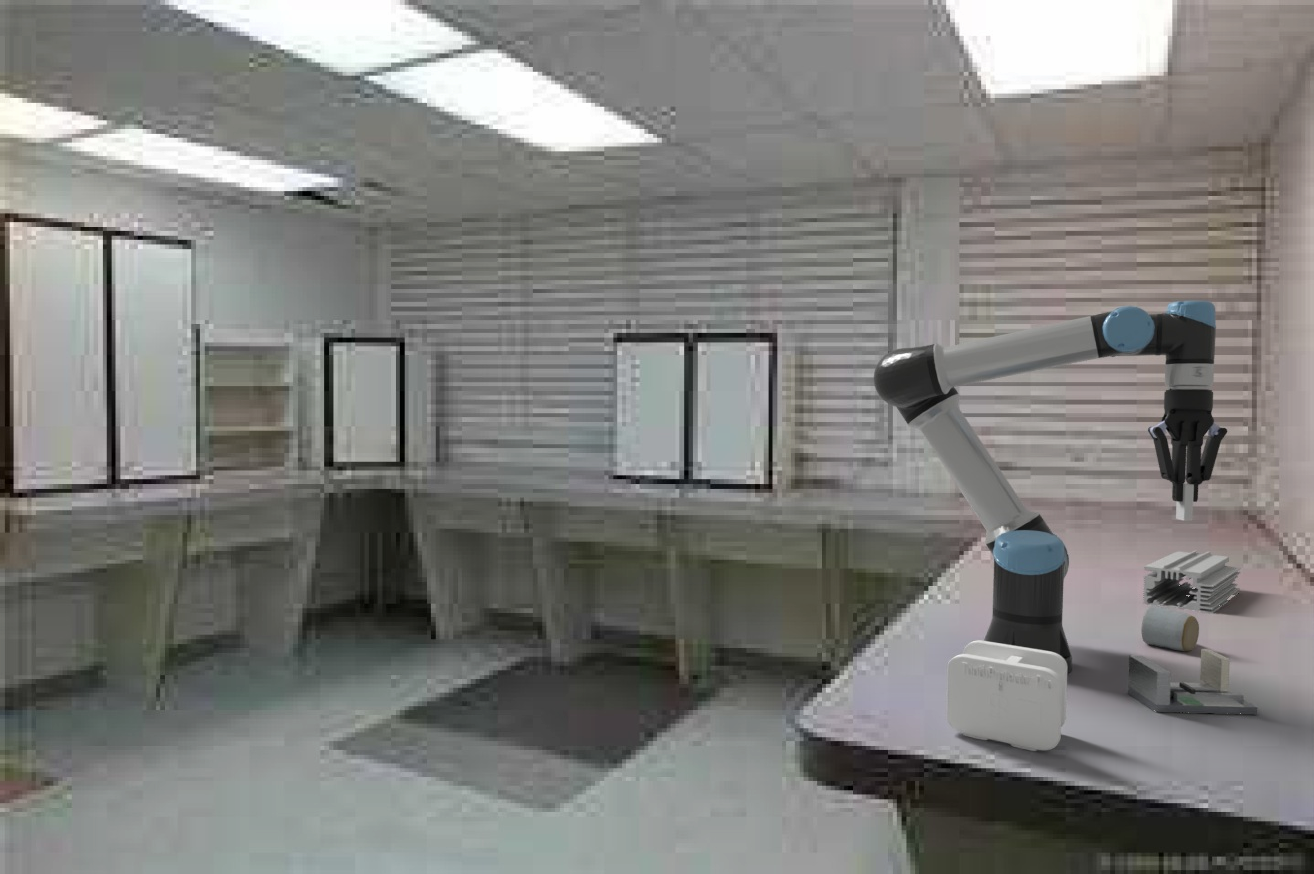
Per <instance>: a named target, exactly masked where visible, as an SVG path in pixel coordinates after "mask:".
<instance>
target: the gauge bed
mask: <svg viewBox="0 0 1314 874" xmlns="http://www.w3.org/2000/svg"><path fill="white" fill-rule="evenodd" d="M1171 675H1172V672H1170V671H1169V670H1167V669H1165V668H1164V667H1162V666H1160V665H1158V664H1157V663H1155V662H1153V661H1152V660H1149V659H1148V658H1146V657H1144V656H1143V655H1128V678H1127V679H1128V680H1127V681H1128V683H1127V694H1129V696H1131V697H1133V698H1134V699H1136V700H1137V701H1139V702H1140V703H1142V704H1143V705H1145V706H1146V707H1147V706H1148V708H1149V709H1151V710H1152V711H1153V710H1155V711H1156V712H1155V711H1154V712H1155V713H1160V712H1180V713H1179V714H1197V713H1215V714H1214V715H1235V714H1240V713H1241V714H1257V715H1258V710H1259V707H1258V706H1256V705H1255V704H1252V703H1250V702H1249V701H1246V700H1245V695H1243V694H1242V693H1240V692H1230V690H1229V691H1219V690H1218V693H1208V692H1195V694H1191V693H1189V692H1174V696H1170V685H1171V682H1172V681H1171V680H1172V676H1171ZM1157 711H1158V712H1157ZM1182 712H1183V713H1182ZM1185 712H1186V713H1185ZM1188 712H1189V713H1188ZM1227 713H1228V714H1227Z"/></svg>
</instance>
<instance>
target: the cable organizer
mask: <svg viewBox="0 0 1314 874" xmlns="http://www.w3.org/2000/svg"><path fill="white" fill-rule="evenodd" d="M946 668H947V673H946V674H947V675H946V710H945V711H946V713H945V714H946V715H945V717H946V718H945V720H946V722H947V724H948V725H949V726H950V728H951V729H953V730H955V731H956V732H959V733H961V734H962V735H963V736H965V737H968V738H973V739H976V740H982V741H988V740H992V741H997V742H1002V743H1006V744H1010V746H1011V747H1013V748H1018V749H1022V750H1027V751H1030V752H1037V751H1050V750H1053V749H1054V748H1056V747H1057V746H1058V744H1059V743H1060V741H1061V736H1062V733H1061V732H1062V727H1063V726H1064V724H1065V723H1066V720H1067V697H1068V694H1067V692H1068V673H1067V663H1066V661H1065V659H1064V658H1063V657H1062V656H1060V655H1059V654H1057V653H1054V652H1051V651H1045V650H1038V649H1032V648H1026V647H1019V646H1013V645H1007V644H1001V643H994V642H988V641H984V640H981V639H980V640H974V641H971V642H969V643H967V644H966V646H965V647H964V648H963V653H960V654H957V655H955V656H954V657H952V658H951V659H950V660H949V661H948V662H947V667H946Z"/></svg>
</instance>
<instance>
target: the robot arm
mask: <svg viewBox="0 0 1314 874" xmlns="http://www.w3.org/2000/svg"><path fill="white" fill-rule="evenodd" d="M1216 320H1217V319H1216V307H1215V305H1214V304H1213V303H1212V301H1208V300H1183V301H1181V300H1180V301H1173V302H1171V303H1169V304H1168V305H1167V307H1166V311H1165V312H1163V313H1155V314H1152V313H1151V314H1149V312H1147V311H1145V310H1144V309H1142V308H1141V307H1137V306H1132V305H1127V306H1121V307H1118V308H1115V309H1113V310H1112V311H1107V312H1103V313H1099V314H1098V313H1097V314H1095V315H1091V316H1090V315H1089V316H1084V317H1079V318H1075V319H1071V320H1065V321H1061V322H1056V323H1051V324H1047V325H1042V326H1037V327H1032V328H1028V329H1023V330H1019V331H1014V332H1010V333H1005V334H1000V335H995V336H990V337H985V338H981V339H978V340H973V341H968V342H963V343H959V344H954V345H949V346H945V347H944V346H942V345H940V344H938V343H934V344H933V343H931V344H927V345H923V346H915V347H904V348H897V349H893V350H891V351H890V352H888V353H886V354H885V355H884V356H883V357H881V358H880V360H879V361H878V362H877V365H876V366H875V369H874V374H873V384H874V388H875V391H876V392H877V394H878V396H879V397H880V398H881V399H882V401H884V402H885V403H887V404H889V405H891V406H892V407H895V408H897V410H898V412H899V413H900V415H901V416H902V418H903V419H904V421H905V423H906V424H907V426H908V427H912V428H915V429H918V430H920V431H921V433H922V434H923V436H924V437H925V440H927V442H928V444H929V445H930V446H931V448H932V450H933V451H934V453H935V454H936V456H937V457H938V459H939V461H940V462H941V463H942V465H943V466H944V468H945V469H946V471H947V473H948V474H949V475H950V477H951V479H952V480H953V482H954V483H955V485H956V486H957V488H958V489H959V491H960V492H961V494H962V495H963V497H964V498H965V500H966V501H967V504H968V505H969V506H970V507H971V509H972V511H973V513H974V514H975V515H976V516H977V518H978V520H979V522H980V523H981V524H982V526H983V527H984V529H985V531H986V537H985V540H984V544H985V545H986V548H988V550H989V551H990V553H991V554H992V556H993V587H992V613H991V614H992V618H991V620H990V621H991V622H990V624H989V625H988V626H989V627H988V628H987V631H986V634H985V637H984V640H983V641H988V642H994V643H1001V644H1007V645H1013V646H1019V647H1026V648H1032V649H1038V650H1045V651H1051V652H1054V653H1057V654H1059V655H1060V656H1062V657H1063V658H1064V659H1065V661H1066V663H1067V674H1069V673H1070V672H1072V670H1073V657H1072V652H1071V650H1070V645H1069V643H1068V641H1067V640H1068V639H1067V637H1066V633H1065V629H1064V627H1063V609H1064V581H1065V578H1066V576H1067V574H1068V571H1069V566H1070V557H1069V554H1068V549H1067V547H1066V545H1065V544H1064V542H1063V540H1062V539H1061V538H1060V537H1059V536H1058V535H1057V534H1055V533H1053V531H1052V530H1051V528H1050V527H1049V526H1048V524H1047V522H1046V520H1045V519H1044V518H1043V517H1042V515H1041V514H1040V513H1039V512H1038V511H1034V510H1030V509H1028V508H1026V506H1025V504H1024V502H1023V501H1022V500H1021V499H1020V497H1019V495H1018V494H1017V493H1016V491H1015V490H1014V487H1012V485H1011V484H1010V482H1009V480H1008V479H1007V478H1006V475H1004V473H1003V472H1002V470H1001V469H1000V467H999V466H998V465H997V462H996V461H995V460H994V458H993V456H991V454H990V452H989V451H988V449H987V448H986V446H985V445H984V444H983V442H982V440H981V439H980V437H979V436H978V434H977V433H976V432H975V430H974V429H973V426H971V424H970V422H969V421H968V420H967V418H966V417H965V415H964V414H963V412H962V411H961V409H960V408H959V400H960V395H961V394H960V393H959V392H958V391H957V389H956V388H955V387H961V386H965V385H970V384H976V383H981V382H984V381H985V382H986V381H991V380H996V379H1000V378H1007V377H1010V376H1017V375H1021V374H1025V373H1031V372H1035V371H1036V372H1037V371H1040V370H1041V371H1042V370H1045V369H1046V370H1047V369H1050V368H1055V367H1056V368H1057V367H1061V366H1066V365H1071V364H1077V363H1081V362H1087V361H1091V360H1096V359H1102V358H1104V359H1105V358H1108V357H1109V358H1110V357H1111V358H1114V357H1136V356H1137V357H1140V356H1165V367H1164V369H1165V370H1164V371H1165V372H1164V387H1168V388H1167V389H1165V391H1164V396H1163V397H1164V398H1163V409H1164V414H1163V416H1162V417H1161V421H1160V422H1159V423H1157V424H1156V425H1153V426H1150V427H1148V429H1147V432H1148V433H1149V435H1150V437H1151V438H1152V440H1153V444H1154V448H1155V455H1156V457H1157V464H1158V467H1159V472H1160V477H1161V479H1163V480H1167V481H1169V482H1170V483H1171V484H1172V487H1171V493H1172V495H1171V499H1172V501H1174V502H1176V505H1175V507H1176V508H1175V509H1176V510H1175V520H1180V521H1184V522H1191V521H1192V522H1193V519H1194V518H1193V516H1194V503H1197V502H1198V500H1199V486H1200V485H1202V483H1203V482H1205V481H1209V480H1211V478H1212V474H1213V471H1214V467H1215V463H1216V460H1217V457H1218V454H1219V449H1220V446H1221V443H1222V441H1223V440H1224V437H1226V435H1227V433H1228V428H1226V427H1221V426H1219V425H1218V424H1216V423H1215V418H1214V417H1213V414H1212V411H1213V407H1214V391H1213V390H1212V389H1210V387H1211V388H1212V387H1213V386H1214V378H1215V377H1214V376H1215V375H1214V373H1215V355H1216V354H1215V352H1216V351H1215V350H1216V333H1217V324H1216ZM1167 432H1168V434H1169V435H1170V439H1171V440H1170V444H1171V446H1172V451H1170V450H1171V449H1170V448H1169V447H1170V446H1169V441H1168V439H1167V436H1166V435H1167ZM1206 434H1207V435H1208V436H1207V438H1206V441H1205V443H1204V437H1205V435H1206ZM1203 444H1204V446H1203ZM1202 446H1203V451H1202Z"/></svg>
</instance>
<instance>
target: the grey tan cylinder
mask: <svg viewBox="0 0 1314 874" xmlns="http://www.w3.org/2000/svg"><path fill="white" fill-rule="evenodd" d="M1143 614H1144V615H1143V617H1142V621H1141V629H1140V630H1141V631H1140V633H1141V639H1142V641H1143V642H1144V643H1145V644H1147V645H1149V644H1150V645H1151V646H1154V645H1155V646H1156V647H1159V648H1164V647H1165V649H1169V650H1173V649H1174V651H1179V652H1190V651H1192V650H1194V648H1195V646H1196V645H1197V642H1198V640H1199V636H1200V624H1199V621H1198V619H1197V618H1196V617H1195V616H1193V615H1190V614H1189V613H1186V612H1182V611H1177V610H1174V609H1170V608H1167V607H1163V606H1158V605H1150V606H1148V607H1147V609H1146V610H1145V612H1144V613H1143Z"/></svg>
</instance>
